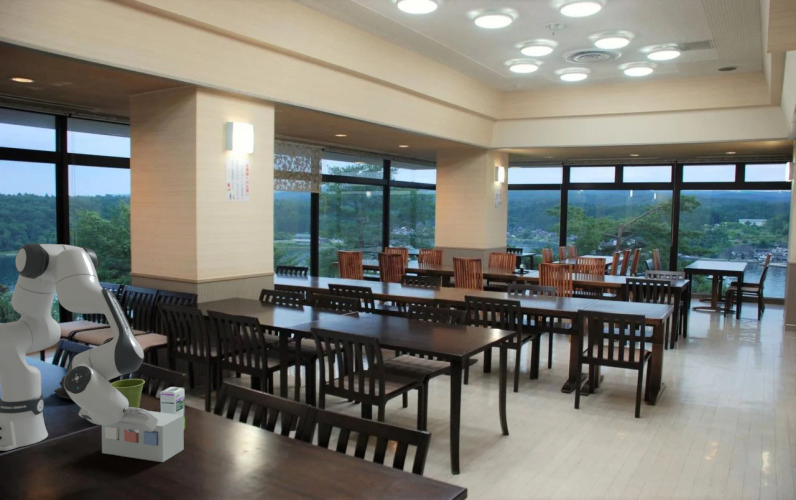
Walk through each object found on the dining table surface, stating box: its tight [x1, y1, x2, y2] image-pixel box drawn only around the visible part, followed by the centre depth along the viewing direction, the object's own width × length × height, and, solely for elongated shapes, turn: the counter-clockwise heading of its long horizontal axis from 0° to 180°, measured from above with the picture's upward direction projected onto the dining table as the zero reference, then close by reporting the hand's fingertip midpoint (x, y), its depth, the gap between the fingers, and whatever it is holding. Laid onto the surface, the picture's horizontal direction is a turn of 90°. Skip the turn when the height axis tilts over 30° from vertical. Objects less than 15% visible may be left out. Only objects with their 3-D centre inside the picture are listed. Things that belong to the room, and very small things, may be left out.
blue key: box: [144, 431, 158, 445], centre depth 175 cm, size 4×3×4 cm
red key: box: [124, 429, 139, 443], centre depth 177 cm, size 4×3×4 cm
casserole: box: [53, 374, 72, 400], centre depth 235 cm, size 25×19×8 cm
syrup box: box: [159, 386, 186, 430], centre depth 199 cm, size 6×6×14 cm
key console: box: [101, 410, 185, 463], centre depth 182 cm, size 22×10×11 cm, turn 75°
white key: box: [105, 426, 119, 440], centre depth 179 cm, size 4×3×4 cm
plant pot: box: [110, 378, 146, 408], centre depth 216 cm, size 12×12×11 cm
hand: (135, 430), depth 168 cm, fingers closed
